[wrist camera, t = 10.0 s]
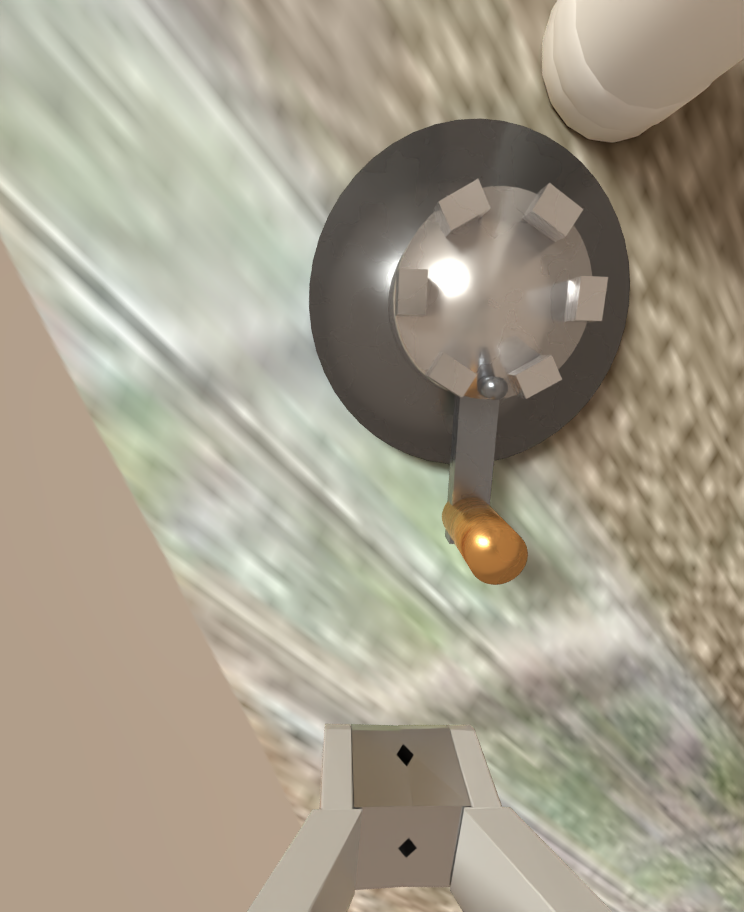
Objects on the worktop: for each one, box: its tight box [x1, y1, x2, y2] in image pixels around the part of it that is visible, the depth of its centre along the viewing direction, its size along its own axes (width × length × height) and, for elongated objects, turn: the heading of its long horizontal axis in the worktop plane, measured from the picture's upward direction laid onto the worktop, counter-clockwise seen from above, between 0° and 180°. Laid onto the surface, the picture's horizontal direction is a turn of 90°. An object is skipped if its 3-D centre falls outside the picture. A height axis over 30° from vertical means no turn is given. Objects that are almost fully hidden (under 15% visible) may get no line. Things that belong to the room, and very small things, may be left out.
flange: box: [309, 119, 630, 464], centre depth 23 cm, size 17×17×2 cm
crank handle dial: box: [388, 179, 608, 585], centre depth 20 cm, size 17×9×6 cm, turn 179°
